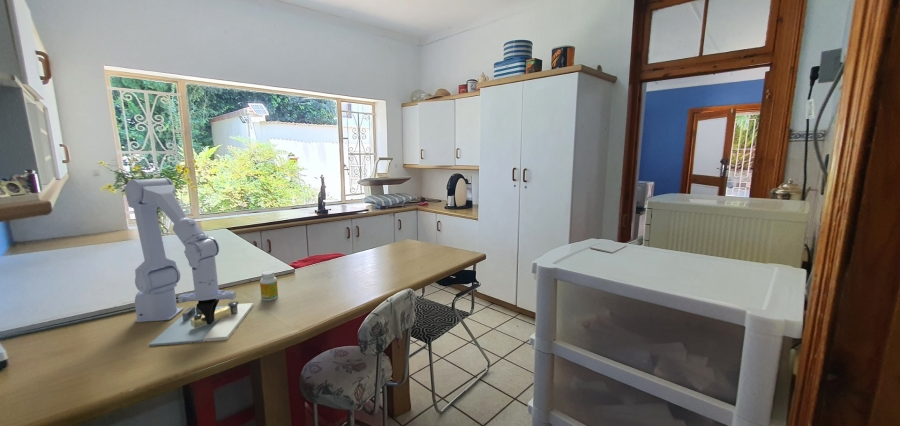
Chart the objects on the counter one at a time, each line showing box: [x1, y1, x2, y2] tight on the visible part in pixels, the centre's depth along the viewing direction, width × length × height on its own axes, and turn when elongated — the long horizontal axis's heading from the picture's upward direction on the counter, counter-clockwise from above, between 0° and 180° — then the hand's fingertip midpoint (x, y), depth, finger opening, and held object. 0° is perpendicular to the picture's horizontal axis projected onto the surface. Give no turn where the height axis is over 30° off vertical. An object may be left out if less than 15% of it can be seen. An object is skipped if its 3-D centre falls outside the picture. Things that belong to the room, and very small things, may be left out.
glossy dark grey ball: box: [227, 300, 239, 315], centre depth 111 cm, size 3×3×4 cm
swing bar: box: [191, 307, 231, 328], centre depth 105 cm, size 10×2×3 cm, turn 149°
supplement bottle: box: [259, 270, 279, 302], centre depth 124 cm, size 5×5×10 cm
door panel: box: [149, 302, 255, 347], centre depth 106 cm, size 19×22×1 cm
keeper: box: [181, 306, 203, 321], centre depth 109 cm, size 6×6×2 cm
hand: (210, 322), depth 103 cm, fingers closed, pressing on swing bar
